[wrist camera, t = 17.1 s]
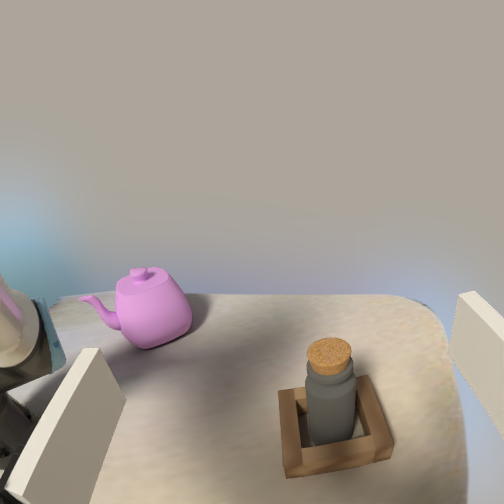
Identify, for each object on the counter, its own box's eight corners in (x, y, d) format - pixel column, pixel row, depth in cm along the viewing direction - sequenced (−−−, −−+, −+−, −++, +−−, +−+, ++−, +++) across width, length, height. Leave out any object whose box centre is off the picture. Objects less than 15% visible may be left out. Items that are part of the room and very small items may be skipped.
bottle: (320, 455, 34) (314, 376, 29) (303, 426, 40) (293, 344, 34) (360, 438, 35) (367, 355, 30) (341, 411, 41) (340, 328, 35)
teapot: (174, 298, 84) (159, 245, 79) (206, 332, 67) (188, 267, 61) (96, 329, 74) (74, 276, 69) (107, 373, 57) (77, 309, 51)
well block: (286, 478, 32) (283, 465, 31) (280, 406, 44) (278, 390, 43) (389, 458, 31) (393, 444, 30) (366, 390, 43) (367, 374, 42)
